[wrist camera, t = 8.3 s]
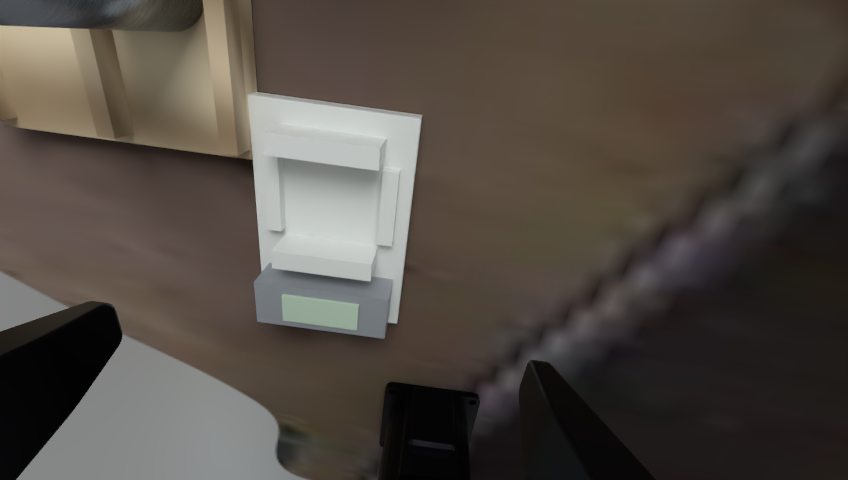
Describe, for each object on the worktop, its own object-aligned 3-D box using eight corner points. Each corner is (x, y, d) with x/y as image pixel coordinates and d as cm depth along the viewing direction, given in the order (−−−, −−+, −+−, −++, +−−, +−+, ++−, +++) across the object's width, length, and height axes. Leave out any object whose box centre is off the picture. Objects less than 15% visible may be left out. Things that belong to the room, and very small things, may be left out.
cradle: (398, 313, 24) (392, 349, 21) (271, 296, 24) (247, 330, 21) (422, 115, 19) (417, 127, 16) (257, 92, 19) (222, 100, 16)
